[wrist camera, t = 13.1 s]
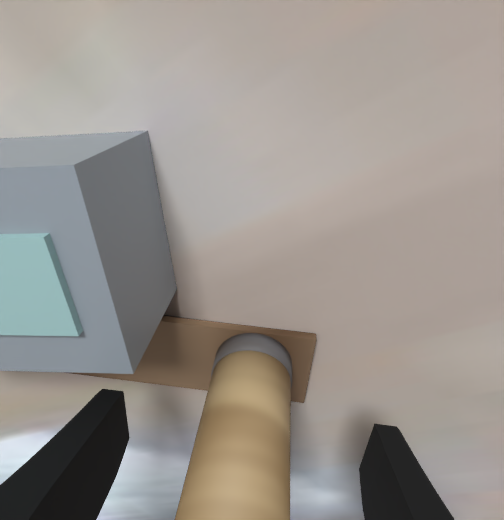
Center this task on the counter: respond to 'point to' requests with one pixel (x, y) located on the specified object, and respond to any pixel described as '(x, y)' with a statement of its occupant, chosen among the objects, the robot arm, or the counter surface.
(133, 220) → the finder block
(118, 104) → the counter surface
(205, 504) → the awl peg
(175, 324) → the strip
